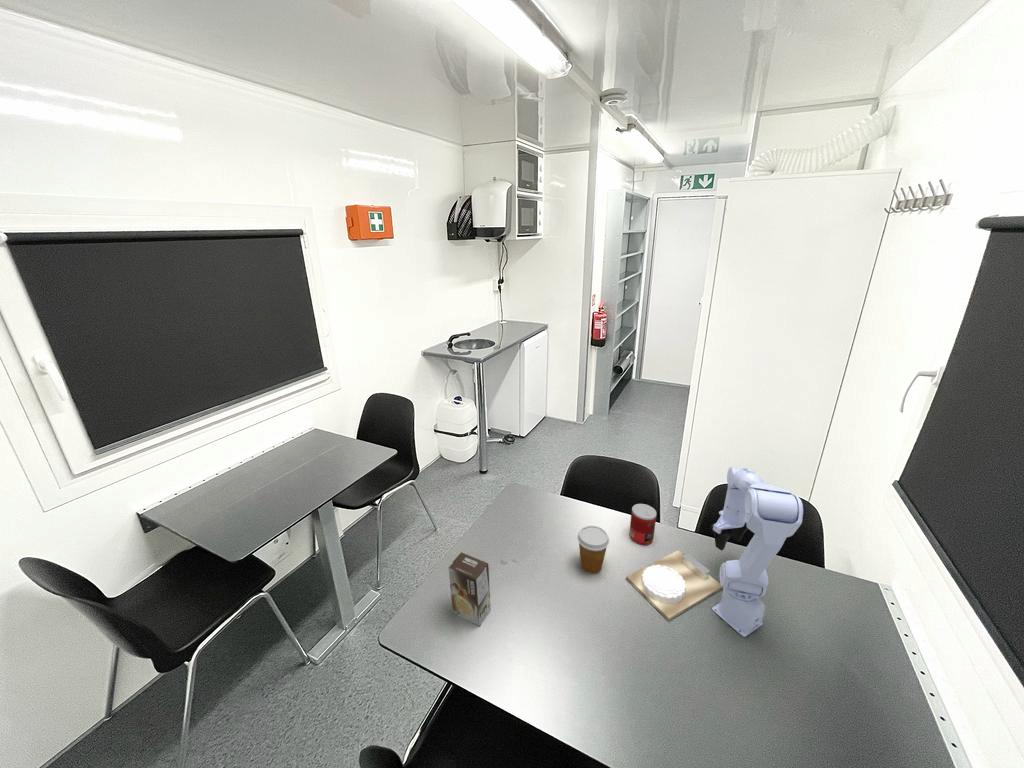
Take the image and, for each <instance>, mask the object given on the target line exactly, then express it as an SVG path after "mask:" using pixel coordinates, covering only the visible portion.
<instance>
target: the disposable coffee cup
mask: <svg viewBox="0 0 1024 768" xmlns="http://www.w3.org/2000/svg"><path fill="white" fill-rule="evenodd" d="M576 537H577V538H576V539H577V542H578V543H579V544H578V545H579V546H578V547H579V559H580V567H581V569H582V570H583V571H584V572H585V573H587V574H590V575H595V574H598V573H600V572H601V570H602V568H603V564H604V559H605V556H606V552H607V548H608V546H609V544H610V538H609V536H608V533H607V531H606V530H604V529H603V528H602V527H601V526H596V525H586V526H583V527H582V528H581V529H579V532H578V533H577V536H576Z"/></svg>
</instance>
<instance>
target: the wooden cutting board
mask: <svg viewBox="0 0 1024 768" xmlns="http://www.w3.org/2000/svg"><path fill="white" fill-rule="evenodd" d="M652 565H655V566H657V565H661V566H667V567H669V568H672V569H673V570H674V571H677V572H678V573H679V575H681V576H682V577H683V580H684V581H685V585H686V592H685V595H684V598H683V599H681V601H680V602H677V603H670V604H667V603H665V602H664V603H662V602H660V601H659V600H655V599H653V597H652V596H649V595H648V594H647V592H646V591H645V590H644V587H643V586H642V574H643V571H644V570H646V569H647V567H651V566H652ZM710 574H711V570H709V569H708V568H707V567H706V566H705V565H703V564H702V563H700V562H699V560H697V559H695V558H694V557H693V556H692V555H690V554H689V552H688V553H686V554H683V553H682V552H680V550H676V551H673V552H672V553H670V554H668V555H666V556H664V557H662V558H659V559H658V560H656V561H654V562H652V563H650V564H648V565H646V566H644V567H642V568H640V569H639V570H636V571H634V572H632V573H630V574H628V575H626V577H625V580H627V581H628V583H630V584H631V585H632V587H634V589H635V590H637V591H638V592H639V594H641V595H642V597H644V598H645V599H646V600H647V601H648V602H649V603H650V604H651V605H652V606H653V607H654V608H655V609H656V610H657V612H659V613H660V614H661V615H662V616H663V617H664V618H665V619H666V620H667V621H668V622H670V621H671V620H673V619H674V618H676V617H678V616H679V615H681V614H684V612H686V611H687V610H689V609H691V608H693V607H694V606H696V605H697V604H700V603H701V602H703V601H704V600H706V599H707V598H709V597H711V596H712V595H715V594H716V593H718V592H719V591H721V590H723V589H724V588H723V587H722V585H721V583H720V581H717V579H715V578H713V577H712V575H710Z"/></svg>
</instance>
